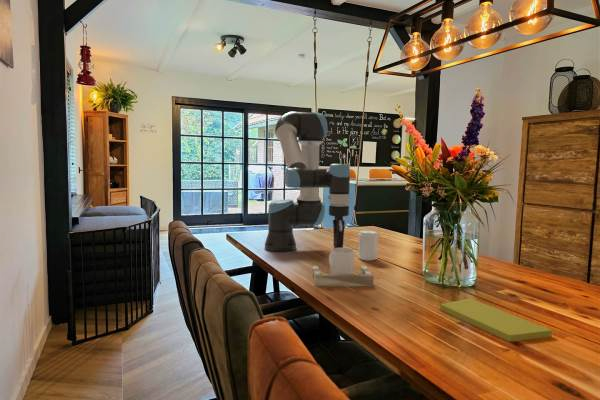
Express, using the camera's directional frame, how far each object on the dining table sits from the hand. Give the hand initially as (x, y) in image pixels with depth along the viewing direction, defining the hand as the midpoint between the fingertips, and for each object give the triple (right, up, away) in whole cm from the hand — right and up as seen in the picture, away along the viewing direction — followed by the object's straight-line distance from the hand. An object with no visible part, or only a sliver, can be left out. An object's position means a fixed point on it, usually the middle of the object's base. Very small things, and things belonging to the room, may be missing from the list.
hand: (337, 266), depth 148 cm
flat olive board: (+36, -8, -45) cm, 58 cm away
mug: (0, -3, -6) cm, 7 cm away
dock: (0, -3, -10) cm, 11 cm away
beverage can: (+15, 0, +20) cm, 25 cm away
